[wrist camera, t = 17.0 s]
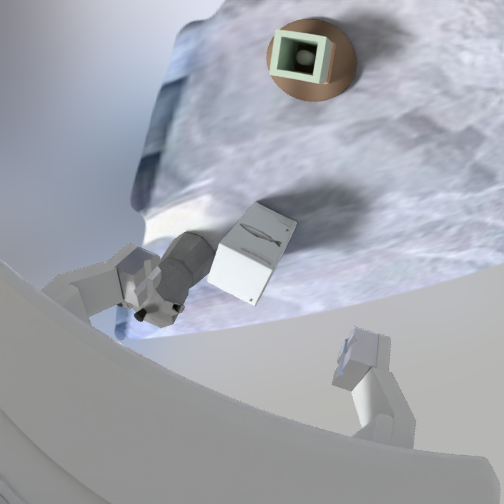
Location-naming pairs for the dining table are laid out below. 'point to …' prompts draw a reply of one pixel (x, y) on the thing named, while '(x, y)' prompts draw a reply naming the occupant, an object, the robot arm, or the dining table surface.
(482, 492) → the robot arm
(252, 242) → the supplement box
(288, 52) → the sleeve
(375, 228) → the dining table surface
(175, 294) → the coffeepot
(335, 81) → the pin base
